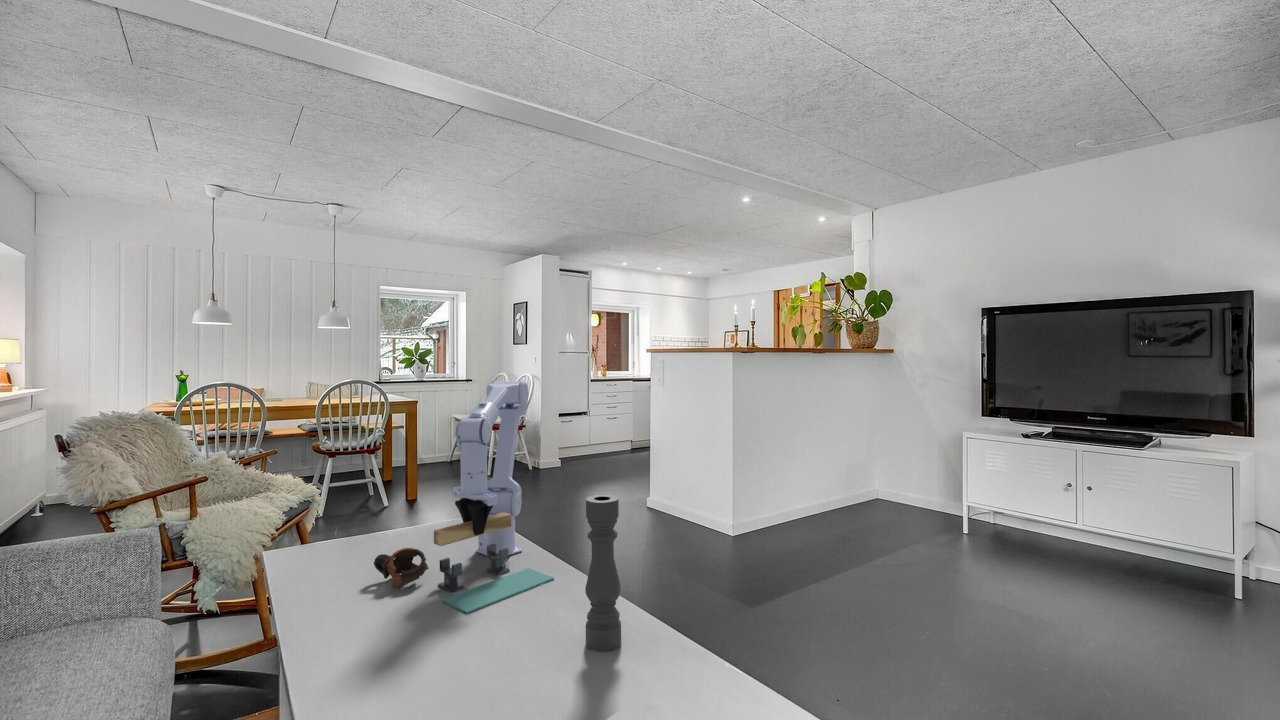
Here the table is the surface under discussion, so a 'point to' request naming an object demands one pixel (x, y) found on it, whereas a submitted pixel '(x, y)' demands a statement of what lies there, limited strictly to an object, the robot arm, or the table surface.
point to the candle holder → (603, 575)
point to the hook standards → (456, 570)
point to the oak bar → (470, 529)
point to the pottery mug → (401, 566)
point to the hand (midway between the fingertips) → (474, 532)
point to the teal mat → (497, 590)
